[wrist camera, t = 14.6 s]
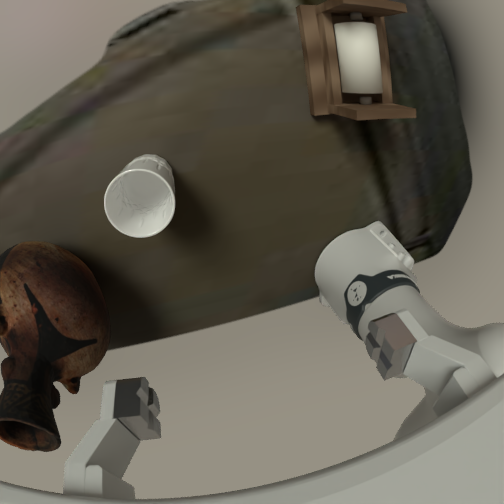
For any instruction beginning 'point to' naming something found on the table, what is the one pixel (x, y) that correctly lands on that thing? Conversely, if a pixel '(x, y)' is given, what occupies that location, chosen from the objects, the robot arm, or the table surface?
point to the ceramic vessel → (45, 337)
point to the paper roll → (358, 57)
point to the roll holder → (327, 63)
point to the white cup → (141, 197)
